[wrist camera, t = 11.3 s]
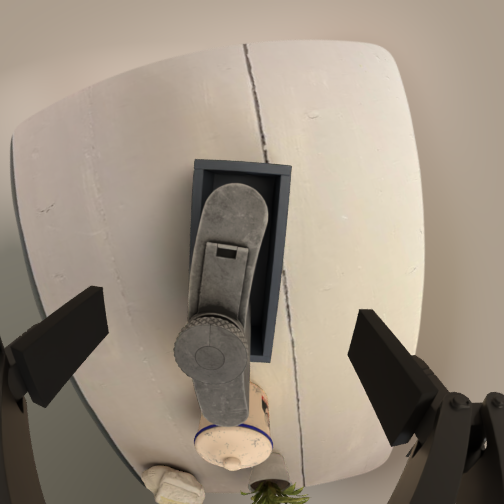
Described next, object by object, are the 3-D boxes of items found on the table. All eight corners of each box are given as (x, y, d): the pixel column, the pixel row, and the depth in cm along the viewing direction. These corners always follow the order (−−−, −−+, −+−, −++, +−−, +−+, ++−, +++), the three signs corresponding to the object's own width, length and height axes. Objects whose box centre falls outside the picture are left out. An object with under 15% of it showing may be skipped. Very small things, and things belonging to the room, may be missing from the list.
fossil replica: (141, 455, 39) (157, 475, 42) (128, 487, 31) (147, 504, 34) (201, 466, 38) (211, 485, 41) (193, 503, 30) (204, 517, 33)
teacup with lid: (263, 424, 35) (265, 486, 24) (201, 416, 35) (189, 478, 24) (280, 364, 33) (290, 432, 21) (208, 353, 32) (191, 421, 21)
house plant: (313, 473, 39) (325, 539, 23) (243, 482, 40) (241, 548, 24) (309, 435, 36) (326, 518, 20) (224, 446, 37) (216, 528, 21)
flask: (216, 317, 30) (183, 448, 13) (223, 184, 27) (171, 179, 9) (250, 320, 30) (246, 455, 13) (261, 186, 27) (275, 185, 9)
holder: (208, 165, 28) (194, 159, 21) (282, 170, 28) (291, 165, 21) (201, 323, 31) (189, 356, 25) (267, 328, 32) (270, 363, 25)
